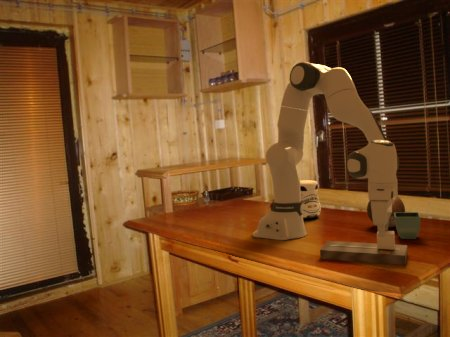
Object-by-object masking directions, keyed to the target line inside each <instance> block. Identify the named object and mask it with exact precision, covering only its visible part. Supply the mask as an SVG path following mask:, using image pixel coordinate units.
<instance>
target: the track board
mask: <svg viewBox="0 0 450 337" xmlns="http://www.w3.org/2000/svg"><path fill="white" fill-rule="evenodd" d="M319 252H320V254H319V256H320V260H331V261H332V260H333V261H343V262H344V261H345V262H358V263H359V262H360V263H369V264H370V263H372V264H384V265H385V264H387V265H397V266H406V265H407V260H408V255H407V254H408V253H409V252H408V245H407V244H395V248H394V250H391V249H377V242H376V243H373V242H372V243H370V242H355V241H338V240H327V242H326V243H325V244H323V246H322V247H321V248H320V250H319Z"/></svg>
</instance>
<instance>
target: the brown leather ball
mask: <svg viewBox="0 0 450 337" xmlns="http://www.w3.org/2000/svg"><path fill="white" fill-rule="evenodd" d="M393 199H394V201H393V202H392V214H391V215H390V217H389V222H388V229H389V228H390V229H391V228H393V227H396V223H395V216H394V213H396V212H406V208H405V204H404V201H403V200H402V199H401V198H400V196H399V195H398V196H397V197H394V198H393ZM366 213H367V216H368V219H370V221H371V222H372V223H373V219H372V210H371V200H369V201H368V202H367V205H366Z"/></svg>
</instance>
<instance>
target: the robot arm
mask: <svg viewBox="0 0 450 337" xmlns="http://www.w3.org/2000/svg"><path fill="white" fill-rule="evenodd" d="M314 96H316V97H318V98H321V97H324V98H325V101H326V105H327V109H328V111H329V113H330V114H331V116H332V117H333V118H334V119H335V120H337V121H339V122H342V123H346V124H348V125H351V126H354V127H356V128H358V129H359V130H360V131H361V132H362V133H363V134H364V136H365V138H366V140H367V142H368V143H367V145H366V146H363V147H362V148H360V149H358V150H355V151H352V152H350V153H349V154H348V156H347V157H346V158H347V159H346V161H345V162H346V163H345V166H346V171H347V173H348V175H349V176H351V177H352V178H353V179H357V180H358V179H359V180H360V179H367V194H368V200H369V201H370V200H371V210H372V219H373V222H372V223H373V225H375V226H376V227H377V232H378V236H379V237H384V236H385V231H389V228H388V222H389V217H390V215H391V214H392V202H393V201H394V199H393V198H394V197H397V196H398V197H399V194H398V193H399V192H398V191H399V190H398V189H399V188H398V183H399V182H398V177H397V171H398V169H399V166H400V159H399V156H398V153H397V149H396V145H395V143H394V142H391V141H390V140H388V139H387V137H386V135H385V133H384V131H383V130H382V128H381V126H380V123H379V122H378V119H377V118H376V116H375V114H374V113H373V111H372V110H371V109H370V108H369V107H367V106H366V104H365V103H364V102H363V101H362V99H361V98H360V96H359V94H358V91H357V88H356V86H355V82H354V81H353V79H352V77H351V75H350V74H349V72H348V71H347V70H346V69H345V68H343V67H333V68H332V67H328V66H326V65H323V64H320V63H317V64H316V63H311V62H307V61H301V62H297V63H296V64H295V65H294V66H293V67H292V68H291V70H290V73H289V83H287V86H286V88H285V90H284V92H283V95H282V101H281V103H280V109H279V115H278V118H277V119H278V120H277V130H278V131H277V132H278V133H277V134H278V136H277V138H278V139H277V142H276V143H273V144H272V145H271V146H270V147H269V148H268V149H267V151H266V154H265V160H266V163H267V164H268V168H269V171H270V175H271V179H272V180H271V181H272V183H273V199H274V201H272V202H271V203H270V204H269V205H268V208H270V211H269V212H267V213H266V214H265V215H264V216H263V217H261V218H260V219H259V220H258V224H257V229H256V230H255V231H254V232H252V237H254V238H259V239H260V238H262V239H270V240H276V241H277V240H278V241H287V240H292V239H299V238H303V237H306V236H307V235H308V233H307V230H306V227H305V223H304V219H303V216H302V214H303V205H302V201H301V189H300V181H299V180H300V178H299V175H298V171H297V170H298V169H297V167H296V166H297V165H298V164H300V162H301V161H302V159H303V156H304V151H303V150H304V141H305V140H304V138H305V127H306V121H307V119H308V118H307V117H308V113H309V107H310V102H311V100H312V98H313V97H314Z"/></svg>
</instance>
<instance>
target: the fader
mask: <svg viewBox="0 0 450 337" xmlns="http://www.w3.org/2000/svg"><path fill="white" fill-rule="evenodd" d="M395 234H396V233H395V231H394V230H385V236H384V237H379V236H378V231H377V232H376V244H377V249H391V250H394V248H395V245H396V238H395V236H396V235H395Z"/></svg>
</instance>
